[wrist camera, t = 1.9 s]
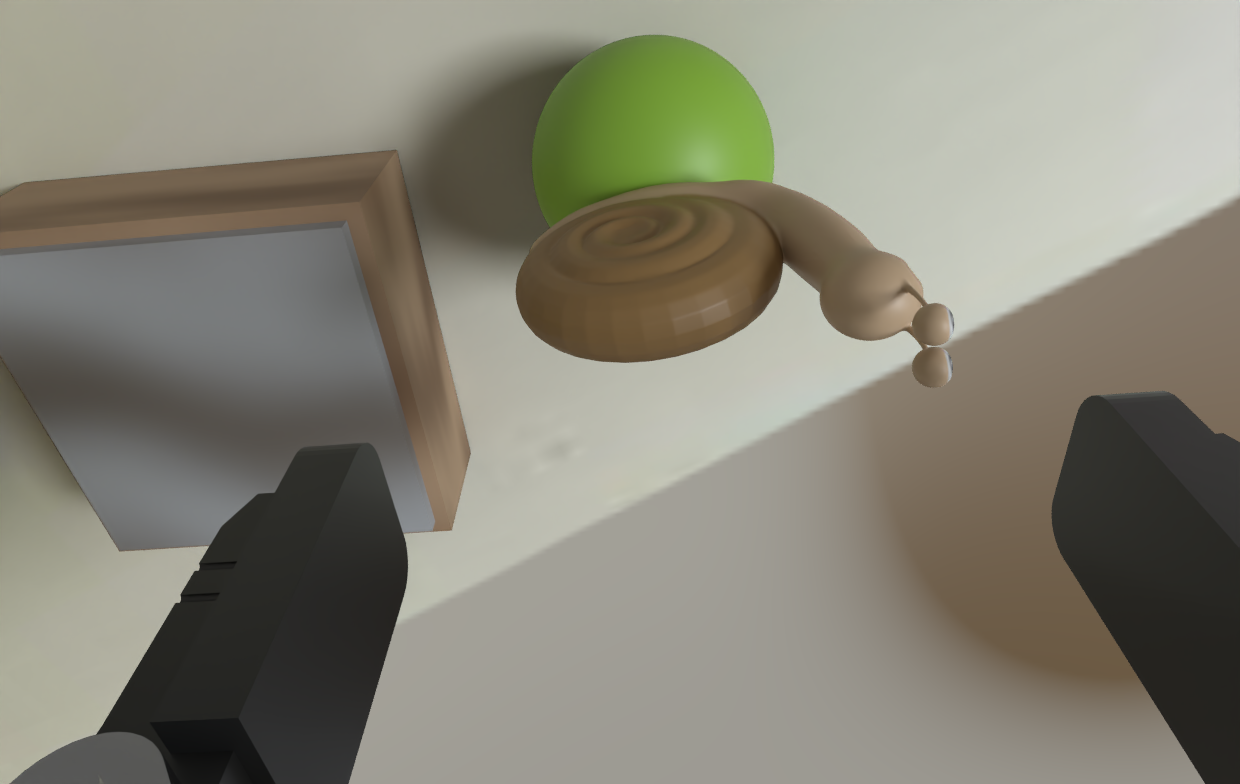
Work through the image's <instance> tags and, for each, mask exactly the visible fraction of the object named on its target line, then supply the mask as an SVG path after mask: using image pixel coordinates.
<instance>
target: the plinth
mask: <svg viewBox="0 0 1240 784" xmlns="http://www.w3.org/2000/svg"><path fill="white" fill-rule="evenodd" d="M0 357H1V359H2V360H3V362H4V363H5V365H6V367H7V368H8V370H9V372H10V373H11V375H12V377H13V378H14V380H15V381H16V383H17V385H18V386H19V388H20V390H21V391H22V393H23V395H24V396H25V398H26V399H27V401H28V403H29V404H30V406H31V408H32V409H33V411H34V413H35V414H36V416H37V417H38V419H39V421H40V422H41V424H42V426H43V427H44V429H45V431H46V432H47V434H48V435H49V437H50V439H51V440H52V442H53V444H54V445H55V447H56V448H57V450H58V452H59V453H60V455H61V457H62V458H63V460H64V462H65V463H66V465H67V466H68V468H69V470H70V471H71V473H72V475H73V476H74V478H75V480H76V481H77V483H78V484H79V486H80V488H81V489H82V491H83V493H84V494H85V496H86V498H87V499H88V501H89V502H90V504H91V506H92V507H93V509H94V511H95V512H96V514H97V516H98V517H99V519H100V520H101V522H102V524H103V525H104V527H105V529H106V530H107V532H108V534H109V535H110V537H111V538H112V540H113V542H114V543H115V545H116V547H117V548H118V550H119V551H134V550H150V549H166V548H182V547H197V546H210V545H211V543H212V541H213V539H214V538H215V536H216V534H217V533H218V531H219V529H220V528H221V526H222V525H223V524H225V523H226V522H227V521H228V520H229V519H230V518H231V517H232V516H234V515H235V514H236V513H237V512H238V511H239V510H240V509H241V508H242V507H244V506H245V505H246V504H247V503H248V502H249V501H250V500H251V499H253V498H254V497H255V496H256V495H257V494H260V493H275V491H276V489H277V488H278V486H279V484H280V482H281V480H282V478H283V476H284V475H285V473H286V471H287V469H288V467H289V465H290V464H291V462H292V460H293V458H294V456H295V455H296V453H297V452H298V451H299V450H300V449H301V448H303V447H310V446H325V445H339V444H354V443H370V444H371V445H372V446H373V447H374V448H375V450H376V452H377V453H378V456H379V459H380V462H381V465H382V468H383V471H384V474H385V477H386V481H387V484H388V487H389V490H390V493H391V496H392V500H393V503H394V506H395V509H396V512H397V515H398V519H399V522H400V525H401V528H402V531H403V533H419V532H434V531H450V530H452V527H453V523H454V519H455V515H456V511H457V507H458V503H459V499H460V495H461V490H462V486H463V482H464V478H465V474H466V470H467V466H468V462H469V458H470V454H471V452H470V448H469V444H468V439H467V435H466V431H465V427H464V423H463V419H462V415H461V411H460V407H459V403H458V399H457V394H456V390H455V386H454V382H453V378H452V374H451V370H450V366H449V362H448V358H447V353H446V349H445V345H444V341H443V337H442V333H441V329H440V325H439V321H438V317H437V313H436V308H435V304H434V300H433V296H432V292H431V288H430V284H429V280H428V276H427V272H426V267H425V263H424V259H423V255H422V251H421V247H420V243H419V239H418V235H417V231H416V227H415V222H414V218H413V214H412V210H411V206H410V202H409V198H408V194H407V190H406V186H405V181H404V177H403V173H402V169H401V165H400V161H399V157H398V153H397V150H392V151H381V152H369V153H358V154H347V155H335V156H324V157H312V158H301V159H289V160H278V161H266V162H255V163H243V164H232V165H221V166H209V167H198V168H186V169H175V170H163V171H152V172H140V173H129V174H117V175H106V176H95V177H83V178H72V179H60V180H49V181H37V182H26V183H23V184H21V185H19V186H18V187H16V188H14V189H13V190H11V191H9V192H7V193H6V194H4V195H2V196H0Z"/></svg>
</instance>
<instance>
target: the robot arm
mask: <svg viewBox="0 0 1240 784" xmlns="http://www.w3.org/2000/svg"><path fill="white" fill-rule="evenodd" d="M1052 526H1053V532H1054V536H1055V539H1056V543H1057V545H1058V548H1059V550H1060V553H1061V555H1062V556H1063V558H1064V560H1065V561H1066V563H1067V565H1068V566H1069V568H1070V569H1071V571H1072V572H1073V574H1074V576H1075V577H1076V579H1077V581H1078V582H1079V583H1080V585H1081V587H1082V588H1083V590H1084V591H1085V593H1086V595H1087V596H1088V598H1089V600H1090V601H1091V603H1092V604H1093V606H1094V608H1095V609H1096V611H1097V612H1098V614H1099V616H1100V617H1101V619H1102V620H1103V622H1104V623H1105V625H1106V627H1107V628H1108V630H1109V631H1110V633H1111V635H1112V636H1113V638H1114V639H1115V641H1116V643H1117V644H1118V646H1119V647H1120V649H1121V651H1122V652H1123V654H1124V655H1125V657H1126V658H1127V660H1128V662H1129V663H1130V665H1131V666H1132V668H1133V670H1134V671H1135V673H1136V674H1137V676H1138V678H1139V679H1140V681H1141V682H1142V684H1143V685H1144V687H1145V688H1146V690H1147V692H1148V693H1149V695H1150V697H1151V698H1152V700H1153V701H1154V703H1155V705H1156V706H1157V708H1158V709H1159V711H1160V712H1161V714H1162V716H1163V717H1164V719H1165V721H1166V722H1167V724H1168V725H1169V727H1170V728H1171V730H1172V732H1173V733H1174V735H1175V736H1176V738H1177V740H1178V741H1179V743H1180V744H1181V746H1182V748H1183V749H1184V751H1185V752H1186V754H1187V755H1188V757H1189V759H1190V760H1191V762H1192V763H1193V765H1194V767H1195V768H1196V770H1197V771H1198V773H1199V774H1200V776H1201V778H1202V779H1203V781H1204V783H1205V784H1240V442H1238V441H1236V440H1235V439H1233V438H1231V437H1229V436H1227V435H1226V434H1224V433H1222V434H1215V433H1214V432H1213V431H1211V430H1210V429H1209V428H1208V427H1207V426H1206V425H1205V424H1204V423H1203V422H1202V421H1201V420H1200V419H1199V418H1198V417H1197V416H1196V415H1195V414H1194V413H1193V412H1192V411H1191V410H1190V409H1189V408H1188V407H1187V406H1186V405H1185V404H1184V403H1183V402H1182V401H1181V400H1179V399H1178V398H1177V397H1176V396H1175V395H1173V394H1171V393H1169V392H1165V391H1155V392H1141V393H1125V394H1112V395H1096V396H1091V397H1089V398H1087V399H1086V400H1084V402H1083V403H1082V404H1081V406H1080V408H1079V410H1078V413H1077V416H1076V419H1075V423H1074V426H1073V430H1072V434H1071V438H1070V441H1069V444H1068V448H1067V452H1066V455H1065V459H1064V462H1063V466H1062V470H1061V473H1060V477H1059V480H1058V484H1057V487H1056V491H1055V495H1054V499H1053V503H1052ZM199 565H200V569H199V571H194V573H193V575H192V576H191V578H190V580H189V581H188V583H187V585H186V586H185V588H184V590H183V591H182V593H181V602H180V603H175V605H174V606H173V608H172V610H171V611H170V613H169V615H168V617H167V618H166V620H165V622H164V623H163V625H162V627H161V628H160V630H159V632H158V633H157V635H156V637H155V638H154V640H153V642H152V643H151V645H150V647H149V648H148V650H147V652H146V653H145V655H144V657H143V658H142V660H141V662H140V663H139V665H138V667H137V668H136V670H135V672H134V673H133V675H132V677H131V678H130V680H129V682H128V683H127V685H126V687H125V688H124V690H123V692H122V694H121V695H120V697H119V699H118V700H117V702H116V704H115V705H114V707H113V709H112V710H111V712H110V714H109V715H108V717H107V719H106V720H105V722H104V724H103V725H102V727H101V728H100V730H99V731H98V733H97V734H96V735H93V736H89V737H86V738H83V739H80V740H78V741H75V742H72V743H70V744H68V745H66V746H64V747H62V748H60V749H57V750H56V751H54V752H52V753H51V754H49V755H47V756H46V757H44V758H42V759H40V760H39V761H38V762H36V763H35V764H34V765H32V766H31V767H29V768H28V769H27V770H25V771H24V772H23V773H22V774H20V775H19V776H18V777H17V778H16V779H15V780H13V781H12V782H11V783H10V784H348V783H349V780H350V776H351V773H352V770H353V766H354V763H355V760H356V756H357V753H358V749H359V746H360V742H361V739H362V735H363V733H364V729H365V726H366V722H367V719H368V715H369V712H370V709H371V705H372V702H373V699H374V695H375V691H376V688H377V685H378V682H379V678H380V675H381V671H382V668H383V665H384V661H385V658H386V654H387V651H388V647H389V644H390V641H391V637H392V634H393V631H394V627H395V624H396V621H397V617H398V614H399V610H400V607H401V604H402V600H403V597H404V593H405V589H406V584H407V575H408V557H407V547H406V542H405V538H404V534H403V531H402V528H401V525H400V522H399V519H398V515H397V512H396V509H395V506H394V503H393V500H392V496H391V493H390V490H389V487H388V484H387V481H386V477H385V474H384V471H383V468H382V465H381V462H380V459H379V456H378V453H377V452H376V450H375V448H374V447H373V446H372V445H371V444H370V443H354V444H339V445H325V446H310V447H303V448H301V449H300V450H299V451H298V452H297V453H296V455H295V456H294V458H293V460H292V462H291V464H290V465H289V467H288V469H287V471H286V473H285V475H284V476H283V478H282V480H281V482H280V484H279V486H278V488H277V489H276V491H275V493H260V494H257V495H256V496H255V497H254V498H253V499H251V500H250V501H249V502H248V503H247V504H246V505H245V506H244V507H242V508H241V509H240V510H239V511H238V512H237V513H236V514H235V515H234V516H232V517H231V518H230V519H229V520H228V521H227V522H226V523H225V524H223V525H222V526H221V528H220V529H219V531H218V533H217V534H216V536H215V538H214V539H213V541H212V543H211V545H210V546H209V548H208V550H207V551H206V553H205V555H204V556H203V558H202V560H201V561H200V563H199Z"/></svg>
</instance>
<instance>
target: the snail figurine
mask: <svg viewBox="0 0 1240 784" xmlns="http://www.w3.org/2000/svg"><path fill="white" fill-rule="evenodd" d="M773 173H774V146H773V138H772V133H771V129H770V125H769V121H768V118H767V115H766V113H765V110H764V108H763V106H762V103H761V101H760V99H759V98H758V96H757V94H756V92H755V91H754V89H753V88H752V86H751V85H750V84H749V82H748V81H747V80H746V78H745V77H744V76H743V75H742V74H741V73H740V72H739V71H738V70H737V69H736V68H735V67H734V66H733V65H732V64H731V63H730V62H729V61H727V60H726V59H725V58H723V57H722V56H721V55H719V54H717V53H716V52H714V51H713V50H711V49H709V48H707V47H705V46H703V45H701V44H698V43H696V42H693V41H690V40H687V39H683V38H679V37H673V36H666V35H643V36H635V37H630V38H626V39H622V40H619V41H616V42H613V43H610V44H608V45H606V46H604V47H602V48H600V49H598V50H596V51H594V52H592V53H591V54H589V55H588V56H586V57H585V58H584V59H582V60H581V61H580V62H578V63H577V64H576V65H575V66H574V67H573V68H572V69H571V70H570V71H569V72H568V73H567V74H566V75H565V76H564V77H563V78H562V79H561V81H560V82H559V83H558V84H557V86H556V87H555V89H554V90H553V92H552V93H551V95H550V97H549V98H548V100H547V102H546V104H545V106H544V108H543V111H542V113H541V116H540V118H539V121H538V124H537V128H536V132H535V136H534V142H533V150H532V174H533V182H534V188H535V192H536V196H537V200H538V203H539V206H540V209H541V211H542V213H543V216H544V218H545V220H546V222H547V224H548V225H549V227H550V228H549V229H548V230H547V231H545V232H544V233H543V234H542V235H541V236H540V237H539V238H538V239H537V240H536V241H535V242H534V244H533V245H532V246H531V248H530V252H529V254H528V256H527V257H526V259H525V261H524V263H523V265H522V266H521V269H520V271H519V274H518V277H517V283H516V300H517V304H518V307H519V310H520V313H521V316H522V318H523V319H524V321H525V323H526V324H527V325H528V327H529V328H530V329H531V330H532V331H533V333H534V334H535V335H536V336H537V337H539V338H540V339H541V340H543V341H544V342H546V343H547V344H549V345H550V346H552V347H554V348H555V349H557V350H559V351H562V352H564V353H567V354H570V355H573V356H576V357H579V358H584V359H589V360H595V361H602V362H620V363H629V362H645V361H654V360H660V359H666V358H671V357H676V356H680V355H684V354H687V353H691V352H694V351H698V350H701V349H703V348H706V347H708V346H710V345H713V344H715V343H718V342H720V341H722V340H724V339H726V338H728V337H730V336H732V335H733V334H735V333H737V332H738V331H740V330H742V329H744V328H745V327H747V326H748V325H749V324H750V323H751V322H752V321H754V320H755V319H756V318H757V317H758V316H759V315H761V313H762V312H763V311H764V310H765V308H766V307H767V305H768V304H769V303H770V301H771V300H772V298H773V297H774V295H775V294H776V292H777V290H778V287H779V283H780V280H781V275H782V269H783V263H785V264H786V265H788V266H789V267H790V268H791V269H792V270H794V271H795V272H796V273H797V274H798V275H799V276H800V277H801V278H803V279H804V280H805V281H806V282H807V283H809V284H810V285H811V286H812V287H814V288H815V289H816V290H817V291H818V292H819V293H820V305H821V309H822V312H823V314H824V316H825V318H826V319H827V321H828V322H829V323H830V324H831V325H832V326H833V327H834V328H835V329H836V330H837V331H839V332H841V333H842V334H844V335H846V336H849V337H851V338H855V339H859V340H866V341H874V340H881V339H885V338H888V337H891V336H893V335H895V334H897V333H899V332H901V331H907V332H909V333H910V334H911V335H912V336H913V337H914V338H915V339H916V340H917V342H918V343H919V344H920V346H921V347H922V349H923V350H922V351H920V352H919V353H918V354H917V355H916V356H915V358H914V360H913V363H912V372H913V375H914V377H915V379H916V380H917V381H918V382H919V383H920V384H922V385H924V386H927V387H932V388H936V387H941V386H943V385H945V384H946V383H947V382H948V381H949V380H950V379H951V376H952V370H953V365H952V360H951V357H950V355H949V354H948V352H947V351H946V350H944V349H942V348H939V347H929V348H928V347H927V345H931V346H937V345H941V344H944V343H946V342H947V341H948V340H949V339H950V338H951V337H952V334H953V330H954V319H953V315H952V313H951V311H950V310H949V309H948V307H946V306H944V305H942V304H938V303H933V304H927V302H926V301H925V300H924V298H923V288H922V285H921V282H920V281H919V279H918V278H917V277H916V275H915V274H914V273H913V272H912V270H911V269H910V268H909V267H908V265H907V263H906V262H905V261H904V260H902V259H901V258H899V257H897V256H895V255H892V254H889V253H886V252H882V251H879V250H877V249H876V248H875V247H874V246H873V245H872V244H871V242H870V241H869V240H868V239H867V238H866V237H865V235H864V234H863V233H862V232H861V231H859V230H858V229H857V228H856V227H855V226H854V225H852V224H851V223H850V222H849V221H847V220H846V219H845V218H843V217H842V216H841V215H839V214H838V213H836V212H835V211H833V210H832V209H830V208H829V207H827V206H826V205H824V204H822V203H820V202H818V201H816V200H814V199H812V198H810V197H808V196H806V195H804V194H802V193H799V192H797V191H794V190H791V189H788V188H785V187H782V186H779V185H776V184H773V183H772V180H773ZM921 305H922V306H923V307H922V308H921ZM911 322H912V327H911ZM926 344H927V345H926Z"/></svg>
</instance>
